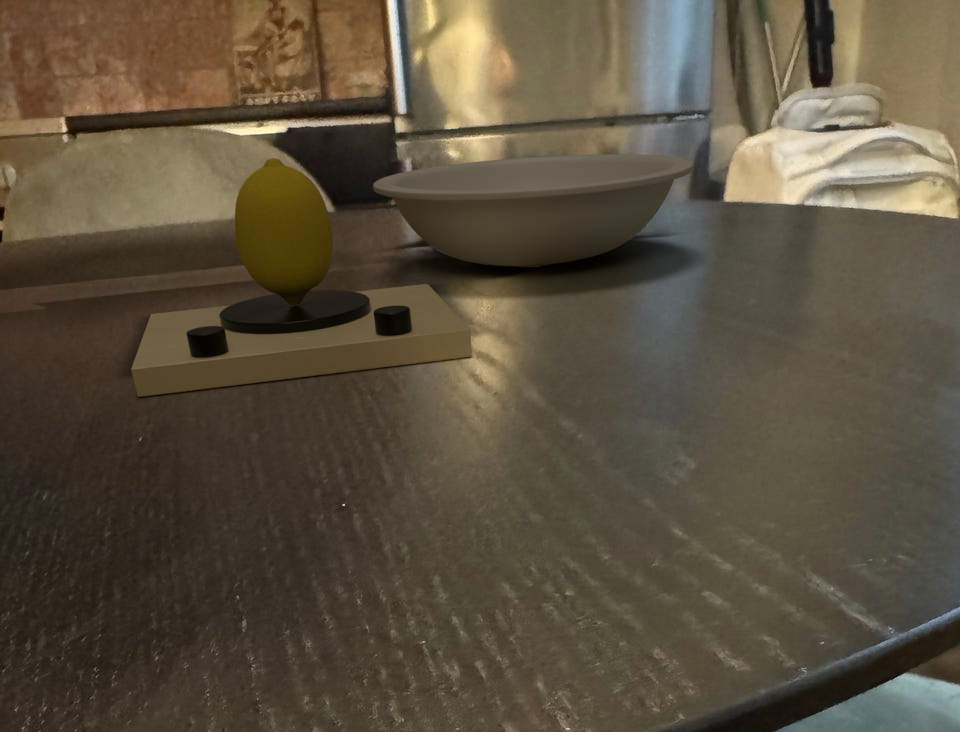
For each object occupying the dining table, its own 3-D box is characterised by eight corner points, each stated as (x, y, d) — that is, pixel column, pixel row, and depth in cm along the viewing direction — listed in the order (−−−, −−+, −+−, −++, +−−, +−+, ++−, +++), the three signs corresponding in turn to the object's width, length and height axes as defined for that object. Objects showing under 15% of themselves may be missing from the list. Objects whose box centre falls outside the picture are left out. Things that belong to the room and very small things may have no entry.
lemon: (279, 320, 56) (254, 164, 52) (232, 308, 60) (205, 162, 56) (359, 301, 59) (341, 153, 55) (309, 291, 63) (288, 152, 59)
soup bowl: (688, 291, 65) (692, 182, 62) (343, 300, 70) (330, 199, 67) (690, 232, 86) (694, 147, 82) (422, 242, 90) (415, 162, 87)
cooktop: (156, 337, 64) (146, 294, 62) (429, 306, 66) (426, 264, 65) (137, 397, 52) (125, 345, 50) (472, 356, 55) (468, 306, 53)
